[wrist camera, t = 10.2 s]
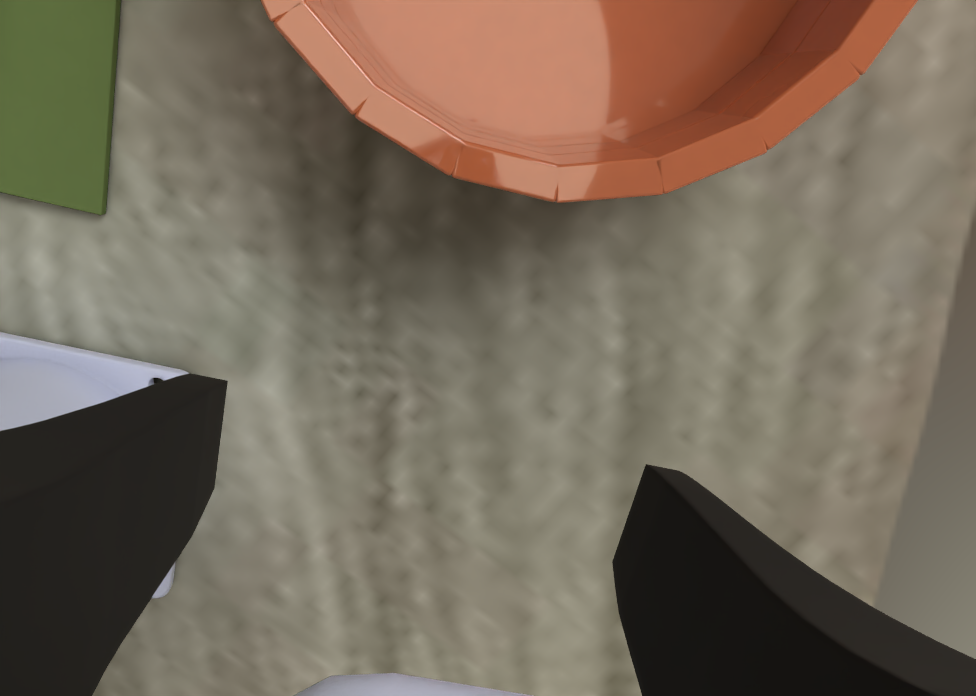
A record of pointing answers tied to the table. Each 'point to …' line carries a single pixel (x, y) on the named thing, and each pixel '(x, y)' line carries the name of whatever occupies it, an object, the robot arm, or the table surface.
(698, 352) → the table surface
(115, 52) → the cloth
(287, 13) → the pot
